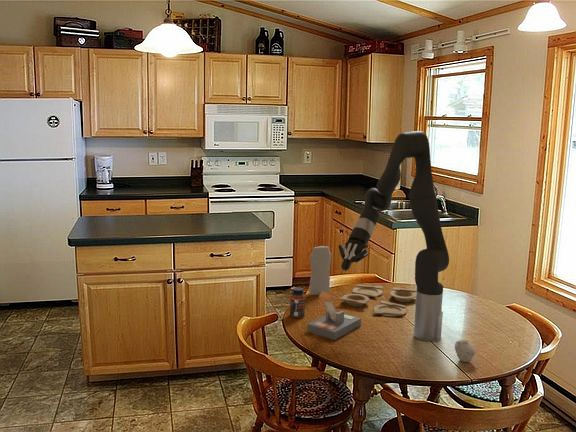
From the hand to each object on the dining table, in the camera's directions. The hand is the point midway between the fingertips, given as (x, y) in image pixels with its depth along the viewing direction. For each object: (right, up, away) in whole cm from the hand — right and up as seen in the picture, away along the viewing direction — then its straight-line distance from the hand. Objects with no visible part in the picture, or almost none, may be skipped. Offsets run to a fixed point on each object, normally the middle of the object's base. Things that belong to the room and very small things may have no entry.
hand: (344, 269), depth 208 cm
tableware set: (+18, -18, +32) cm, 40 cm away
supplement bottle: (-17, -20, +12) cm, 29 cm away
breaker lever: (-3, -19, 0) cm, 19 cm away
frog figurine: (+37, -28, -25) cm, 53 cm away
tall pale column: (-7, -15, +40) cm, 44 cm away
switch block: (-4, -22, 0) cm, 23 cm away
